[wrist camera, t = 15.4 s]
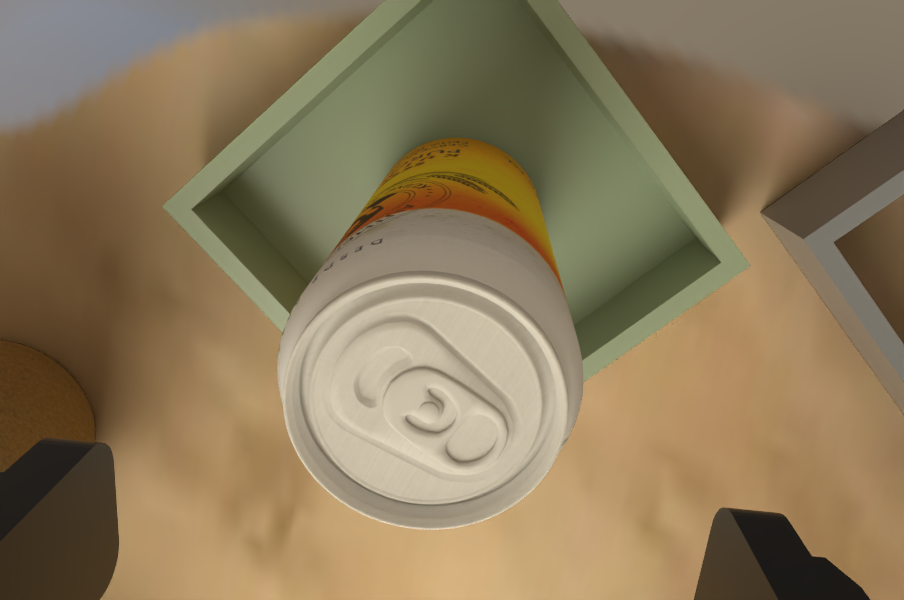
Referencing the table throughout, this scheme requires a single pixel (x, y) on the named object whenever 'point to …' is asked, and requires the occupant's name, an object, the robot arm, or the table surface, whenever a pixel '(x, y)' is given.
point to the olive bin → (476, 117)
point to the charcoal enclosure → (829, 218)
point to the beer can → (435, 346)
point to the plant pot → (38, 403)
